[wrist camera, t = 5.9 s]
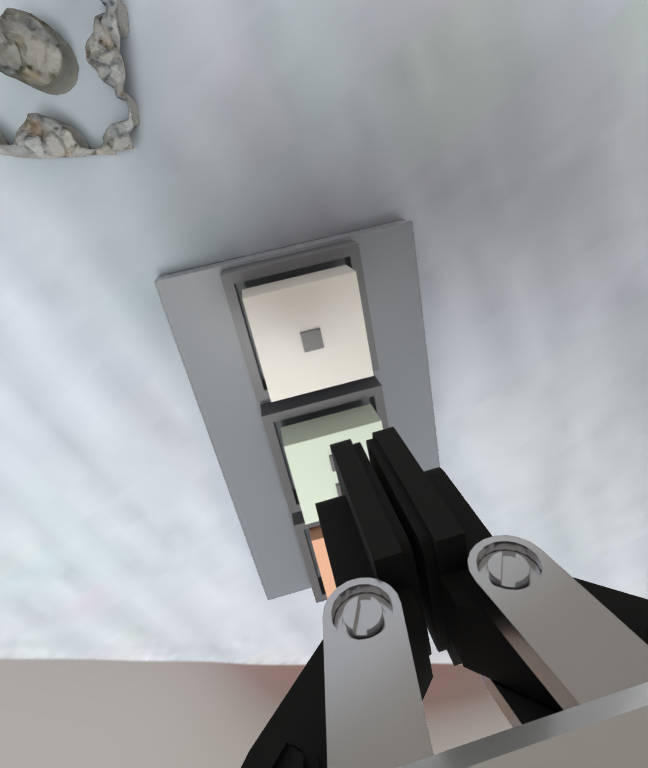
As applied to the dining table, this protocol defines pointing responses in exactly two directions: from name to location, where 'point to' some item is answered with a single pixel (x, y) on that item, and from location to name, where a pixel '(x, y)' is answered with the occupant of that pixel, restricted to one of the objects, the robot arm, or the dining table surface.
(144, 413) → the dining table surface
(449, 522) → the robot arm
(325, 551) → the tile
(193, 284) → the keypad board
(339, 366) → the tile
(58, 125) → the egg carton
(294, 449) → the tile
